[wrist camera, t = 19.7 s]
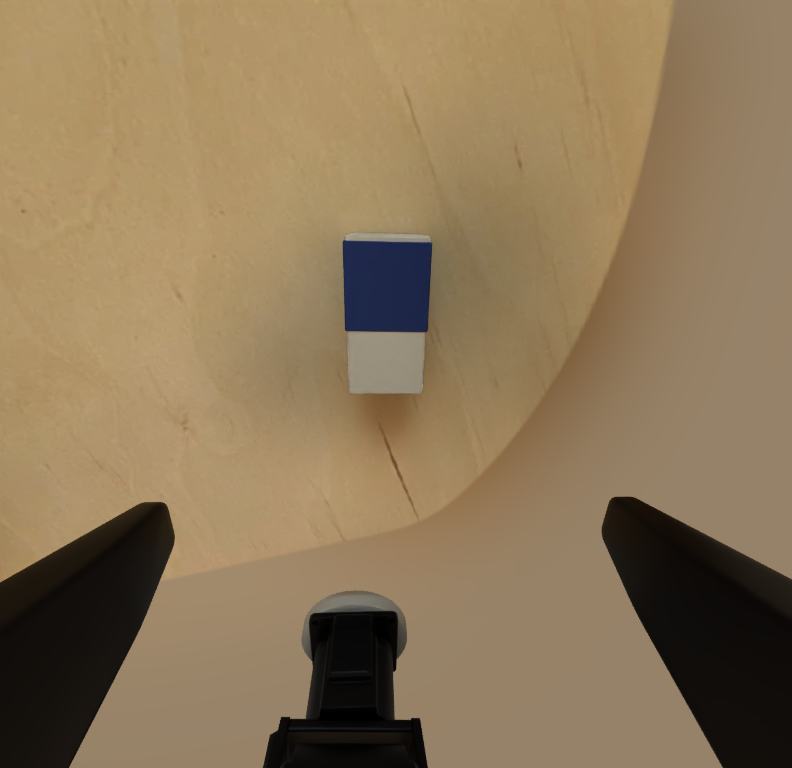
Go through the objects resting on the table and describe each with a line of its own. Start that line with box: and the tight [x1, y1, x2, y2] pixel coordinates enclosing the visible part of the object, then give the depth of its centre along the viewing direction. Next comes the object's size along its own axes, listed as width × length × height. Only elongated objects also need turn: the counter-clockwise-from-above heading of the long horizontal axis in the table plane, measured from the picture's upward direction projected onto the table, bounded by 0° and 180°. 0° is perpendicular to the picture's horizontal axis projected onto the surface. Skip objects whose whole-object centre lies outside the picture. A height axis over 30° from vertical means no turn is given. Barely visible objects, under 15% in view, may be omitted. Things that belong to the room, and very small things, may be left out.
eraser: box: [343, 232, 432, 394], centre depth 16 cm, size 6×3×4 cm, turn 179°
